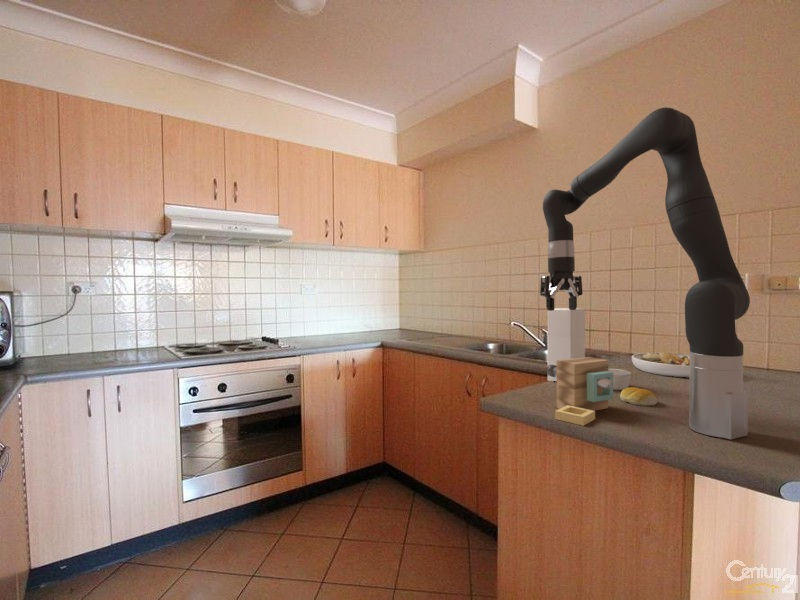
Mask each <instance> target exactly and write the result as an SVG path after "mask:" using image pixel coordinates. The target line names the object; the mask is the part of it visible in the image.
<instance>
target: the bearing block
mask: <svg viewBox="0 0 800 600" xmlns="http://www.w3.org/2000/svg"><path fill="white" fill-rule="evenodd" d="M608 368H609V360H608V359H604V358H599V357H597V358H596V357H592V356H585V357H584V358H574V359H564V360H557V383H556V408H557V409H560V408H562V407H565V406H567V405H569V406H574V407H579V408H583V409H588V410H593V411H599V410H604V409H609V400H604V401H597V402H592V401H588V400H587V373H593V372H601V371H608ZM599 393H603V388H601V387H598V386H597V394H599Z"/></svg>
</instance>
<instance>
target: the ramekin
mask: <svg viewBox="0 0 800 600" xmlns="http://www.w3.org/2000/svg"><path fill="white" fill-rule="evenodd" d="M608 371H609V372H613V391H622V390H624V389H626V388H629V387H630V381H631V377H632V372H631V371H628V370H626V369H621V368H620V369H619V368H609V367H608Z"/></svg>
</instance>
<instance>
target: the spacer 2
mask: <svg viewBox="0 0 800 600" xmlns="http://www.w3.org/2000/svg"><path fill="white" fill-rule="evenodd" d="M602 378H605V379H609V380H611V381H612V387H611V388H610V389H605V388H603V393H599V394H597V379H602ZM613 399H614V390H613V372H609V371H601V372H593V373H587V400H588V401H592V402H597V401H604V400H608V401H610V400H613Z"/></svg>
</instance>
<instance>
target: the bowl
mask: <svg viewBox="0 0 800 600" xmlns="http://www.w3.org/2000/svg"><path fill="white" fill-rule="evenodd" d="M631 361H632V363H633V366H635V368H637V369H638V370H640V371H642V372H644V373H649V374H654V375H659V376H664V377H665V376H666V377H672V376H673V378H682V377H686V379H689V376H690V354H687V353H684V354H683V353H671V352H665V351H662V352H661V351H659V352H643V353H635V354H633V355H631Z"/></svg>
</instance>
